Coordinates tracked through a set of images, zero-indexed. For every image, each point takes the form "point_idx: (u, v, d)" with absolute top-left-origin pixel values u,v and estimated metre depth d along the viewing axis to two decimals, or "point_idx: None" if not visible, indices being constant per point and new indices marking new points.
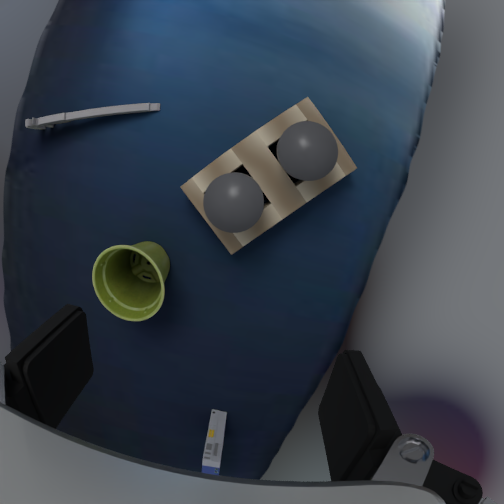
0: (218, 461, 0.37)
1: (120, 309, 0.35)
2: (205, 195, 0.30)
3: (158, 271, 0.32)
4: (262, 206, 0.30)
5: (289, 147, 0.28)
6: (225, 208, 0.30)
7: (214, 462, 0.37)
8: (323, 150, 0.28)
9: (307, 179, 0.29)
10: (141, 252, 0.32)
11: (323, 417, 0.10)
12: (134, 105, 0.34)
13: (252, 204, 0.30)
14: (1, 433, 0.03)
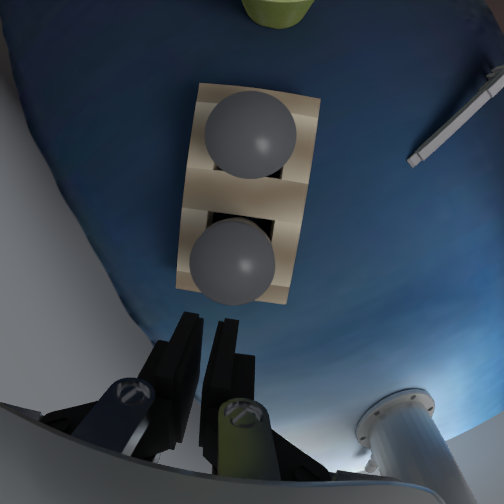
0: None
1: None
2: (288, 113, 0.18)
3: None
4: (216, 161, 0.19)
5: (253, 249, 0.21)
6: (252, 120, 0.18)
7: None
8: (218, 281, 0.21)
9: (201, 237, 0.21)
10: (296, 0, 0.16)
11: None
12: (435, 147, 0.25)
13: (228, 152, 0.19)
14: (1, 433, 0.03)
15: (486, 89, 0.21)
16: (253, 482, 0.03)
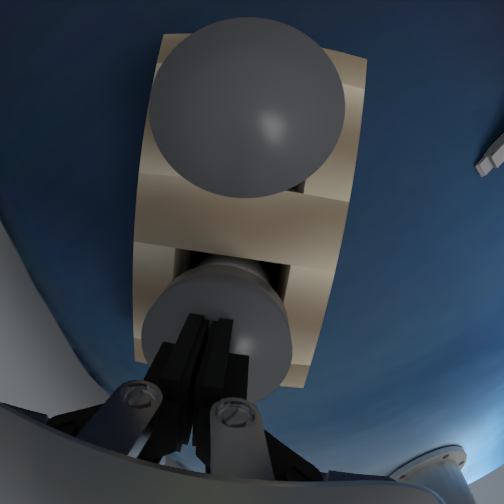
0: None
1: None
2: (326, 60, 0.08)
3: None
4: (171, 161, 0.09)
5: (252, 329, 0.11)
6: (250, 71, 0.08)
7: None
8: None
9: (158, 304, 0.11)
10: None
11: None
12: None
13: (198, 141, 0.09)
14: (1, 433, 0.03)
15: None
16: (253, 482, 0.03)
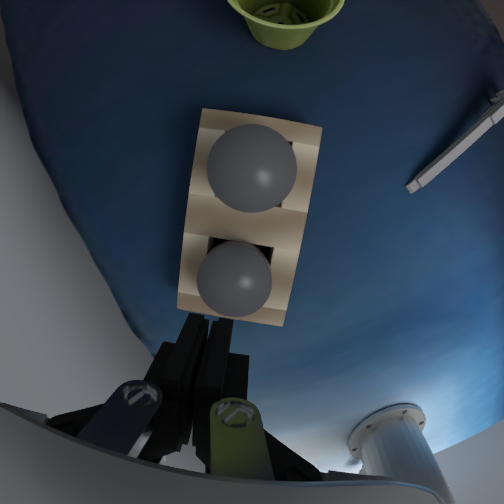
0: None
1: None
2: (289, 148, 0.19)
3: (262, 22, 0.17)
4: (217, 194, 0.20)
5: (252, 270, 0.24)
6: (254, 154, 0.19)
7: None
8: (221, 296, 0.24)
9: (208, 258, 0.24)
10: (301, 26, 0.17)
11: None
12: (434, 174, 0.26)
13: (230, 186, 0.20)
14: (1, 433, 0.03)
15: (489, 115, 0.22)
16: (253, 482, 0.03)
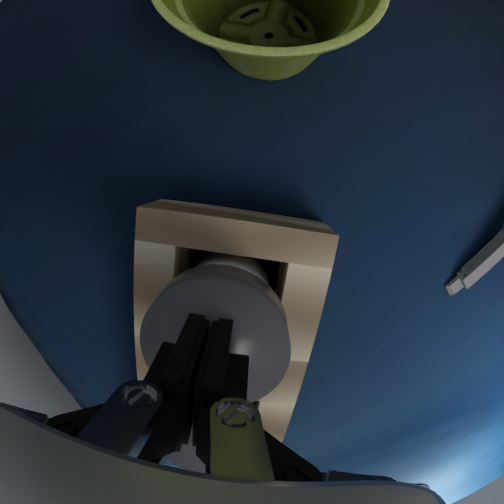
0: None
1: None
2: (278, 322, 0.11)
3: (221, 44, 0.08)
4: None
5: None
6: None
7: None
8: (193, 459, 0.16)
9: None
10: (307, 50, 0.08)
11: None
12: (485, 271, 0.17)
13: None
14: (1, 433, 0.03)
15: None
16: (253, 482, 0.03)
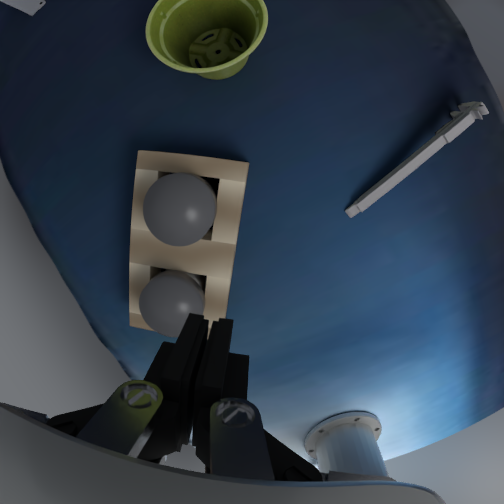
0: None
1: None
2: (207, 192, 0.23)
3: (179, 68, 0.19)
4: (152, 232, 0.24)
5: (184, 298, 0.26)
6: (178, 199, 0.24)
7: None
8: (160, 319, 0.27)
9: (146, 287, 0.26)
10: (217, 68, 0.19)
11: None
12: (375, 199, 0.28)
13: (161, 225, 0.24)
14: (1, 433, 0.03)
15: (443, 134, 0.24)
16: (253, 482, 0.03)
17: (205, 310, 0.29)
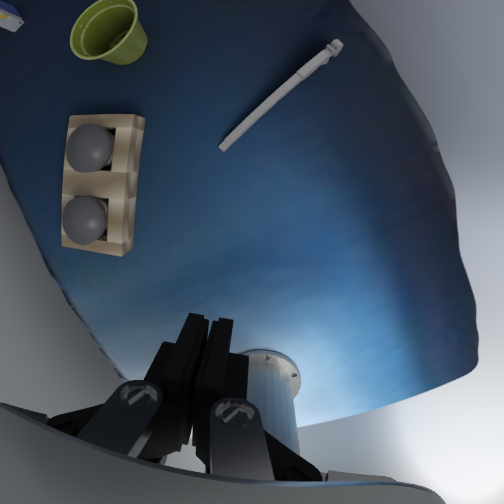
0: None
1: (100, 6, 0.24)
2: (101, 133, 0.30)
3: (85, 58, 0.26)
4: (70, 165, 0.31)
5: (88, 211, 0.33)
6: (85, 140, 0.30)
7: None
8: (75, 230, 0.33)
9: (66, 206, 0.32)
10: (105, 54, 0.26)
11: None
12: (239, 132, 0.35)
13: (75, 159, 0.31)
14: (1, 433, 0.03)
15: None
16: (253, 482, 0.03)
17: (109, 227, 0.36)
